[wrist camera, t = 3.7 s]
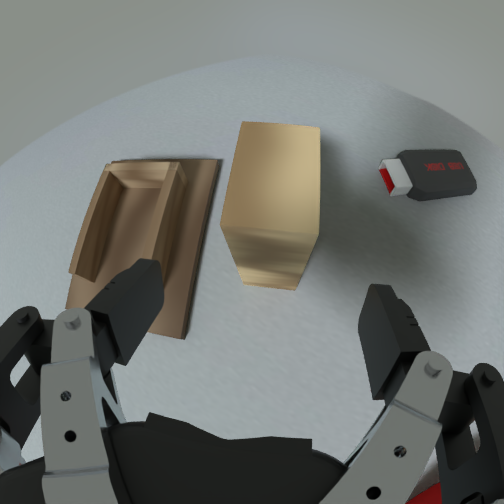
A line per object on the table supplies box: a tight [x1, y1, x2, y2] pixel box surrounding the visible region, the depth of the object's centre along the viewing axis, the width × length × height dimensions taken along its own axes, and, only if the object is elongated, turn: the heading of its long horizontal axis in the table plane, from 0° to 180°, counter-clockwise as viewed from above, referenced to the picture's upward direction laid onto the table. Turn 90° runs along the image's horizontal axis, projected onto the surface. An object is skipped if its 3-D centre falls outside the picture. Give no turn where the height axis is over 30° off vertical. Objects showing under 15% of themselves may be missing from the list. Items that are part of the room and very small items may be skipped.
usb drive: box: [378, 150, 477, 201], centre depth 23 cm, size 5×12×3 cm, turn 100°
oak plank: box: [220, 122, 320, 290], centre depth 17 cm, size 4×6×11 cm, turn 172°
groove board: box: [65, 159, 219, 339], centre depth 22 cm, size 12×16×4 cm
